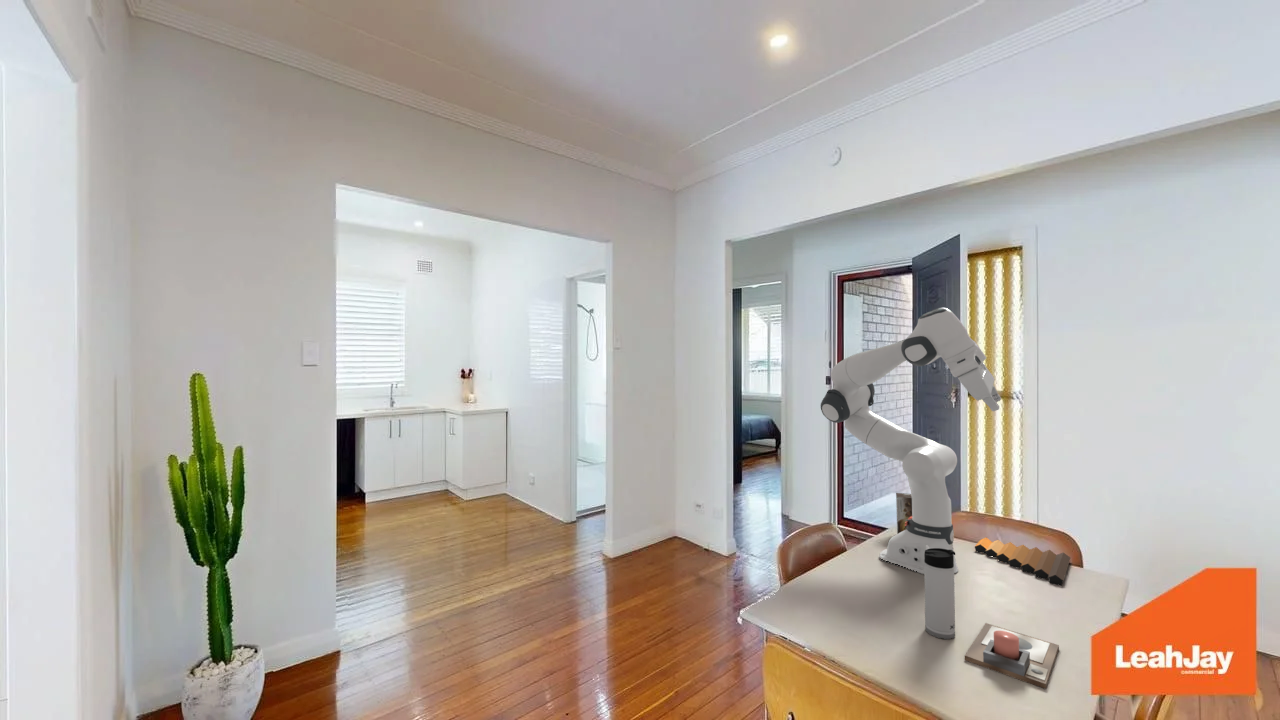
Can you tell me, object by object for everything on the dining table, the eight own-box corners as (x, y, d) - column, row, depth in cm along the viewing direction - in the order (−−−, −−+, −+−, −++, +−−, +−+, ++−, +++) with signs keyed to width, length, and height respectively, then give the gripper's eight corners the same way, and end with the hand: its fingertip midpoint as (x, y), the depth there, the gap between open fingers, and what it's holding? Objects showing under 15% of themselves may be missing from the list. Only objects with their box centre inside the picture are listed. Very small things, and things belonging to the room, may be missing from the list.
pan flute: (1063, 588, 146) (1070, 564, 164) (1063, 576, 146) (1070, 553, 164) (964, 564, 164) (980, 545, 182) (964, 554, 164) (980, 536, 182)
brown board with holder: (964, 660, 110) (964, 645, 110) (985, 626, 124) (985, 613, 124) (1045, 689, 100) (1045, 672, 100) (1058, 649, 114) (1058, 635, 114)
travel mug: (961, 641, 117) (960, 555, 118) (930, 638, 119) (929, 553, 119) (950, 627, 123) (949, 546, 124) (921, 625, 125) (920, 544, 125)
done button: (991, 654, 107) (991, 635, 107) (996, 646, 110) (996, 628, 110) (1017, 663, 104) (1016, 643, 104) (1021, 654, 107) (1020, 635, 107)
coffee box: (923, 537, 189) (922, 494, 190) (925, 542, 184) (924, 498, 184) (896, 533, 193) (895, 492, 194) (897, 539, 187) (896, 496, 188)
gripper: (958, 359, 145) (987, 401, 143) (949, 373, 129) (982, 420, 127) (980, 349, 141) (1011, 391, 139) (974, 361, 125) (1009, 409, 123)
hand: (997, 405), depth 133 cm, fingers open, 8 cm apart
